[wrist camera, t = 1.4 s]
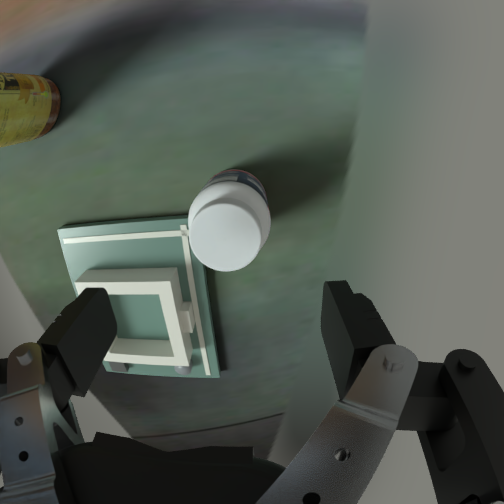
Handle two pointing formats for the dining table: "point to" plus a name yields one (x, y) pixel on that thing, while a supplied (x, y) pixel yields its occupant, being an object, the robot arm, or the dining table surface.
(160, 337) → the board
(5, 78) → the sauce bottle
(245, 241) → the pill bottle
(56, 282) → the dining table surface
